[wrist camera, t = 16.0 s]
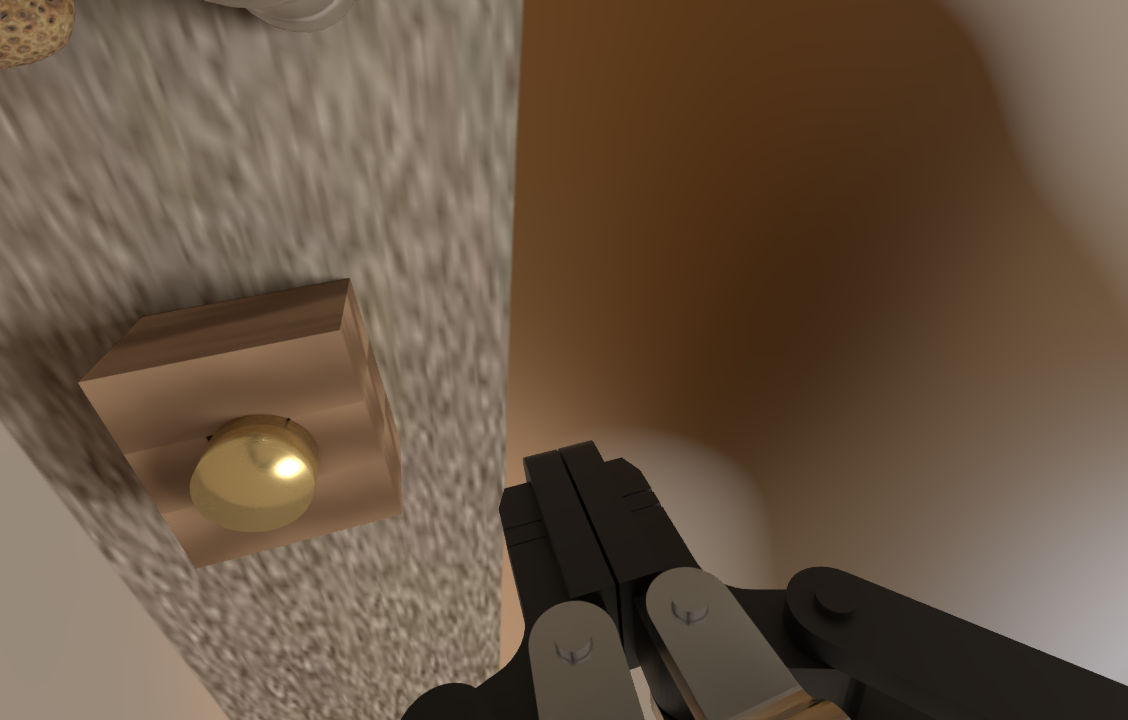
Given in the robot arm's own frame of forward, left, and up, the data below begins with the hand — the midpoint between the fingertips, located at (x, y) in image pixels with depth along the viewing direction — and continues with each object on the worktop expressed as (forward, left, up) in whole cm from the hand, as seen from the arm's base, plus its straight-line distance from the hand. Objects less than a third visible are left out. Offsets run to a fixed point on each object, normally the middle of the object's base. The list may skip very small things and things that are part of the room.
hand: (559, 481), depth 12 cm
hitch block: (+10, -13, -27) cm, 32 cm away
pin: (+10, -13, -26) cm, 31 cm away
